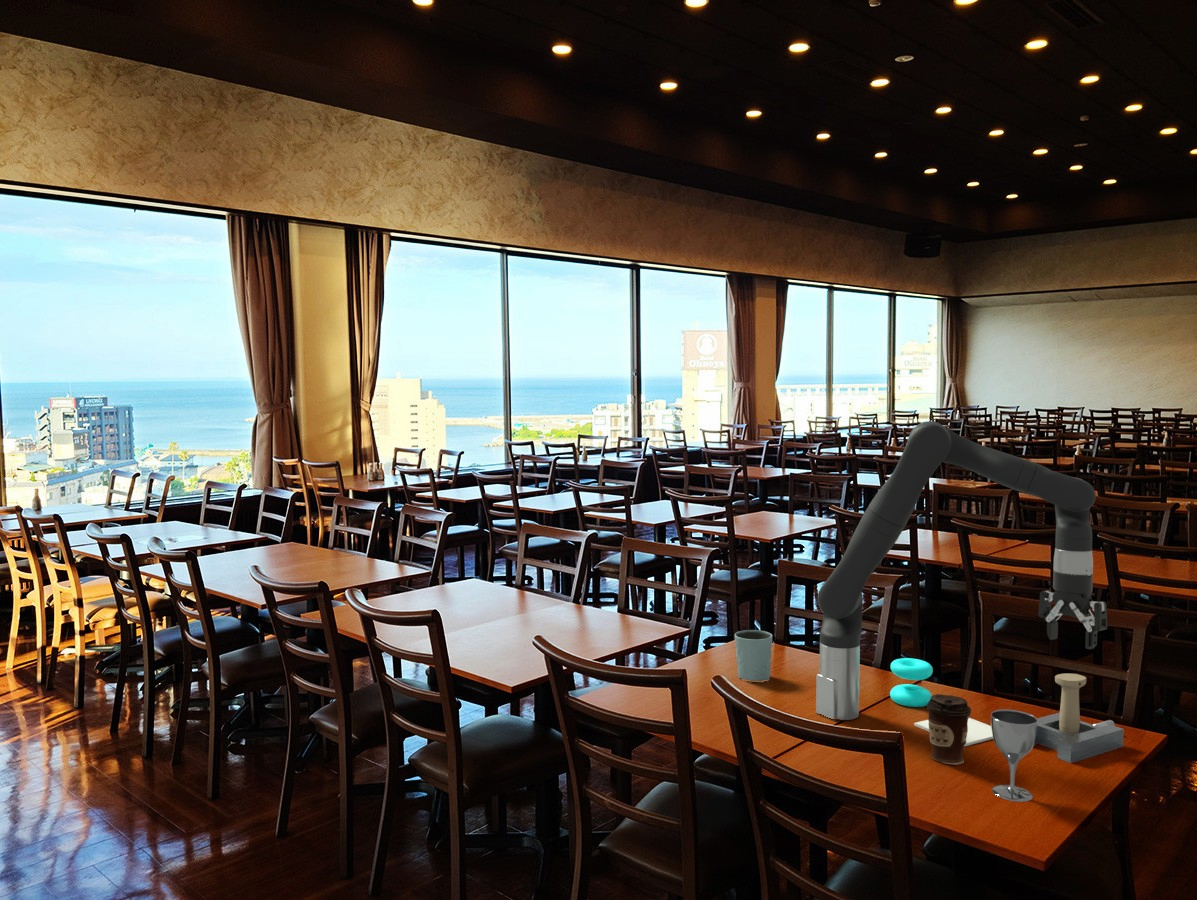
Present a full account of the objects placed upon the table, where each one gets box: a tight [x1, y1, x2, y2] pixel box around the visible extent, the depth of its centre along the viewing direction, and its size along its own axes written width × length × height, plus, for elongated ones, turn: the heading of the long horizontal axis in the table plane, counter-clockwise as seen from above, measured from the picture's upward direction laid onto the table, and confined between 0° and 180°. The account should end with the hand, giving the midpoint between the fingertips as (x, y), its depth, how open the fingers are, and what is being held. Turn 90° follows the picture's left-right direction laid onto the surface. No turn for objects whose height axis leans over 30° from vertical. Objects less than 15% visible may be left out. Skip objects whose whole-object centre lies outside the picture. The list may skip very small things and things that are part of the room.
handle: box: [1054, 673, 1087, 735], centre depth 191 cm, size 5×6×15 cm
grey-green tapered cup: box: [734, 629, 773, 681], centre depth 238 cm, size 10×10×12 cm
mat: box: [913, 717, 993, 747], centre depth 200 cm, size 14×14×1 cm
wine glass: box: [990, 708, 1037, 803], centre depth 167 cm, size 8×8×15 cm
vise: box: [1034, 712, 1125, 764], centre depth 193 cm, size 24×13×4 cm, turn 118°
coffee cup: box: [926, 693, 972, 766], centre depth 183 cm, size 9×8×13 cm
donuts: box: [889, 657, 934, 708], centre depth 219 cm, size 10×10×10 cm
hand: (1071, 643), depth 190 cm, fingers open, 8 cm apart
